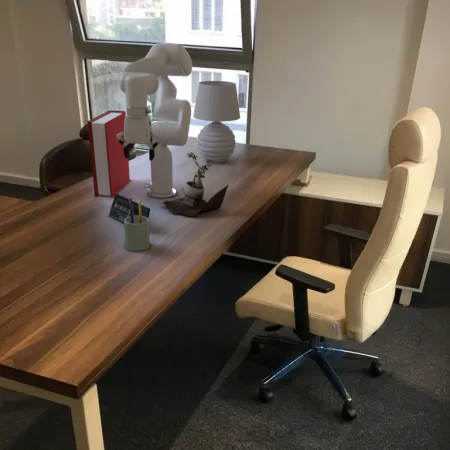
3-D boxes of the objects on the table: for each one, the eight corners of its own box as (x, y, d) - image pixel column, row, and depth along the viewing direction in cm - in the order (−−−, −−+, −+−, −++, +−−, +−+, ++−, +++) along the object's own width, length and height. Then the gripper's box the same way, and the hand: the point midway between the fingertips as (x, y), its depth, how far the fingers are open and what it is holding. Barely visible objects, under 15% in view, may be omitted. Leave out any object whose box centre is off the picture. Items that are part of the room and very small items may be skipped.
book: (112, 197, 228) (106, 122, 212) (94, 196, 229) (87, 121, 213) (130, 179, 252) (126, 111, 236) (114, 178, 253) (109, 110, 237)
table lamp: (238, 166, 278) (242, 87, 258) (191, 165, 278) (191, 85, 258) (238, 155, 300) (241, 80, 280) (194, 153, 300) (194, 79, 280)
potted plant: (190, 202, 232) (207, 150, 219) (218, 224, 223) (238, 170, 211) (157, 205, 218) (173, 149, 205) (185, 228, 209) (204, 171, 196)
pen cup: (121, 249, 181) (117, 199, 172) (132, 240, 188) (129, 192, 179) (143, 252, 179) (140, 203, 170) (153, 243, 186) (151, 195, 177)
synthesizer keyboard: (152, 208, 192) (126, 202, 188) (145, 233, 195) (120, 228, 190) (137, 198, 211) (113, 192, 206) (131, 221, 213) (108, 216, 208)
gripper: (162, 111, 192) (164, 158, 200) (118, 108, 194) (121, 154, 202) (156, 114, 185) (158, 162, 193) (111, 111, 188) (114, 159, 196)
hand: (139, 158), depth 198 cm, fingers open, 9 cm apart
